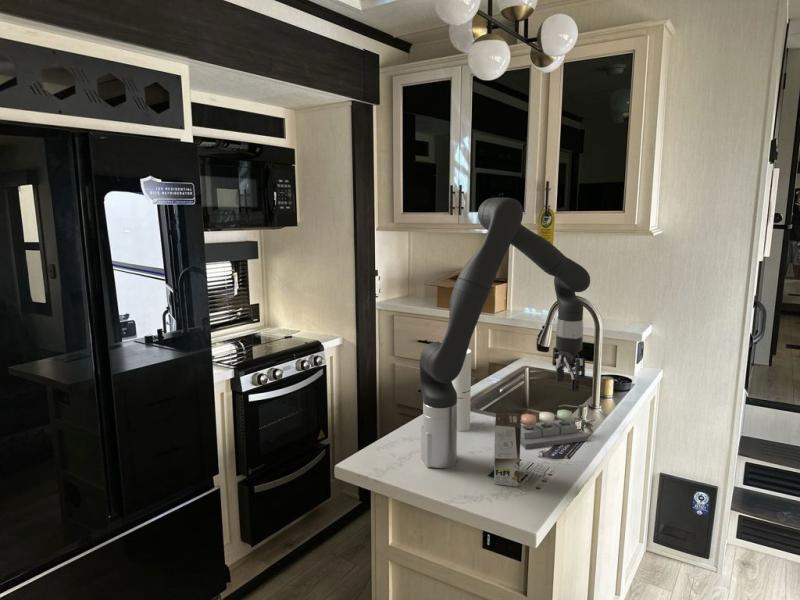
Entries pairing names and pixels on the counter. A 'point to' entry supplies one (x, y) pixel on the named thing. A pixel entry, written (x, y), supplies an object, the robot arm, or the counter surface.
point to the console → (550, 434)
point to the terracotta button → (528, 420)
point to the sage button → (564, 416)
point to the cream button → (546, 418)
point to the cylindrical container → (463, 394)
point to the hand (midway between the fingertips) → (567, 386)
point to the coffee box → (507, 449)
